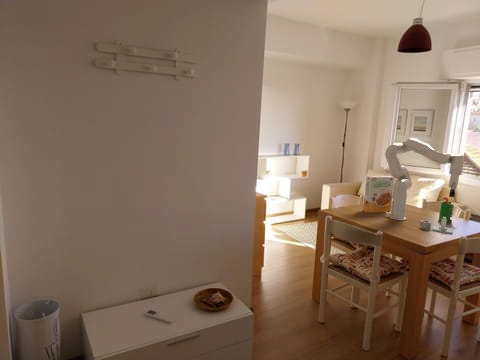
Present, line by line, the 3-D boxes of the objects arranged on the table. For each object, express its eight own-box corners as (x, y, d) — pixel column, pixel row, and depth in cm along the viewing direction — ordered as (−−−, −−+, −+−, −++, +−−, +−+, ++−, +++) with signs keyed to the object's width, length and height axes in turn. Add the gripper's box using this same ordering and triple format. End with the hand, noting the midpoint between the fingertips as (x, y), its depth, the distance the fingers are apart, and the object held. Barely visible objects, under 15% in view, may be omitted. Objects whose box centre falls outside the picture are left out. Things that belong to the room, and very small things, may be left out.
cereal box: (367, 212, 289) (370, 177, 284) (362, 210, 295) (366, 176, 290) (390, 211, 295) (394, 177, 290) (385, 209, 301) (389, 175, 295)
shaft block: (432, 230, 244) (434, 217, 242) (433, 226, 254) (435, 214, 252) (451, 234, 238) (453, 220, 236) (452, 230, 247) (454, 217, 246)
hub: (419, 228, 248) (420, 221, 247) (420, 226, 254) (421, 219, 253) (429, 230, 245) (430, 223, 244) (430, 228, 250) (431, 221, 249)
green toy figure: (453, 224, 261) (457, 199, 258) (441, 223, 263) (444, 198, 260) (448, 220, 271) (452, 196, 268) (436, 219, 273) (439, 195, 269)
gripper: (449, 170, 251) (446, 193, 254) (449, 172, 236) (445, 197, 239) (461, 171, 247) (458, 194, 250) (461, 174, 232) (458, 198, 235)
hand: (451, 195), depth 245 cm, fingers open, 9 cm apart
